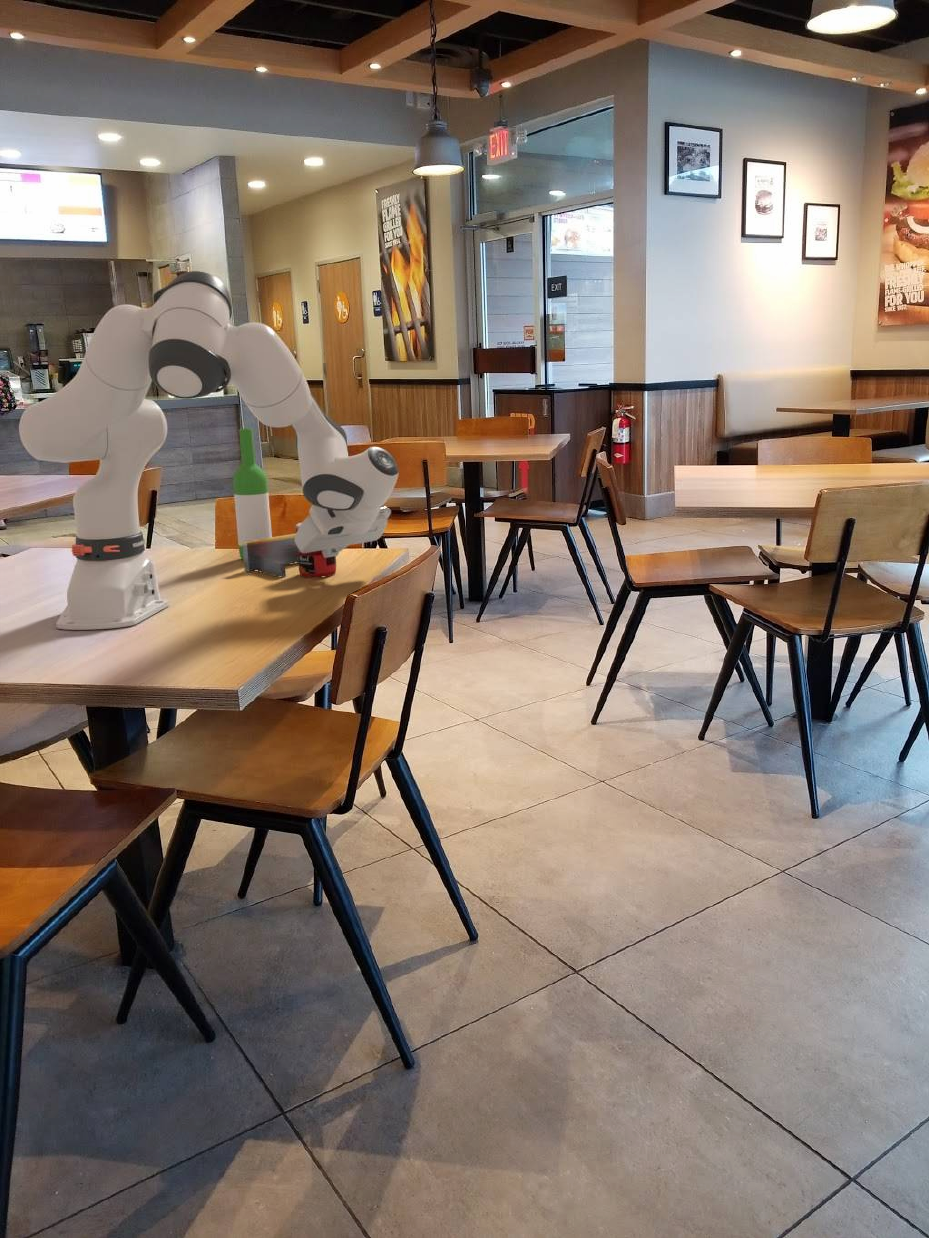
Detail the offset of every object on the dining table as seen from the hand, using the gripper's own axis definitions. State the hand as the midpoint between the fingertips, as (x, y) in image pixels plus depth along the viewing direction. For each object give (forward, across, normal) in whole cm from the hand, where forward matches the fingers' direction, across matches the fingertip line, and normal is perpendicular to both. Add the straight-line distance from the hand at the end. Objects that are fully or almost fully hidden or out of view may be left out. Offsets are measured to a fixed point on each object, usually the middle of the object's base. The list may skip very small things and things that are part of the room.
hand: (328, 554), depth 202 cm
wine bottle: (+25, 0, -18) cm, 30 cm away
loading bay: (+13, 0, -6) cm, 15 cm away
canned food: (+7, 0, 0) cm, 7 cm away
